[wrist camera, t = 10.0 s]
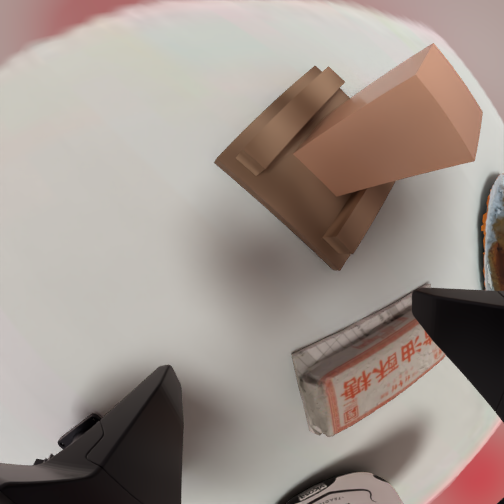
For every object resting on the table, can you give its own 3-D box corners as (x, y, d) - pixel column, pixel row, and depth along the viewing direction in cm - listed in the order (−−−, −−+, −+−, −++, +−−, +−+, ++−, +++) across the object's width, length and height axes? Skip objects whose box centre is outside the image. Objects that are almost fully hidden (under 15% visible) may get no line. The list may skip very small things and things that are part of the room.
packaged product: (330, 457, 19) (313, 372, 18) (306, 430, 23) (286, 351, 23) (455, 365, 24) (456, 285, 23) (427, 355, 28) (423, 281, 27)
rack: (333, 270, 23) (354, 272, 20) (214, 162, 20) (221, 149, 17) (397, 162, 25) (417, 156, 23) (310, 70, 22) (325, 55, 20)
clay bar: (336, 196, 22) (474, 160, 10) (292, 153, 21) (415, 74, 8) (362, 158, 23) (482, 112, 10) (323, 118, 22) (433, 43, 9)
